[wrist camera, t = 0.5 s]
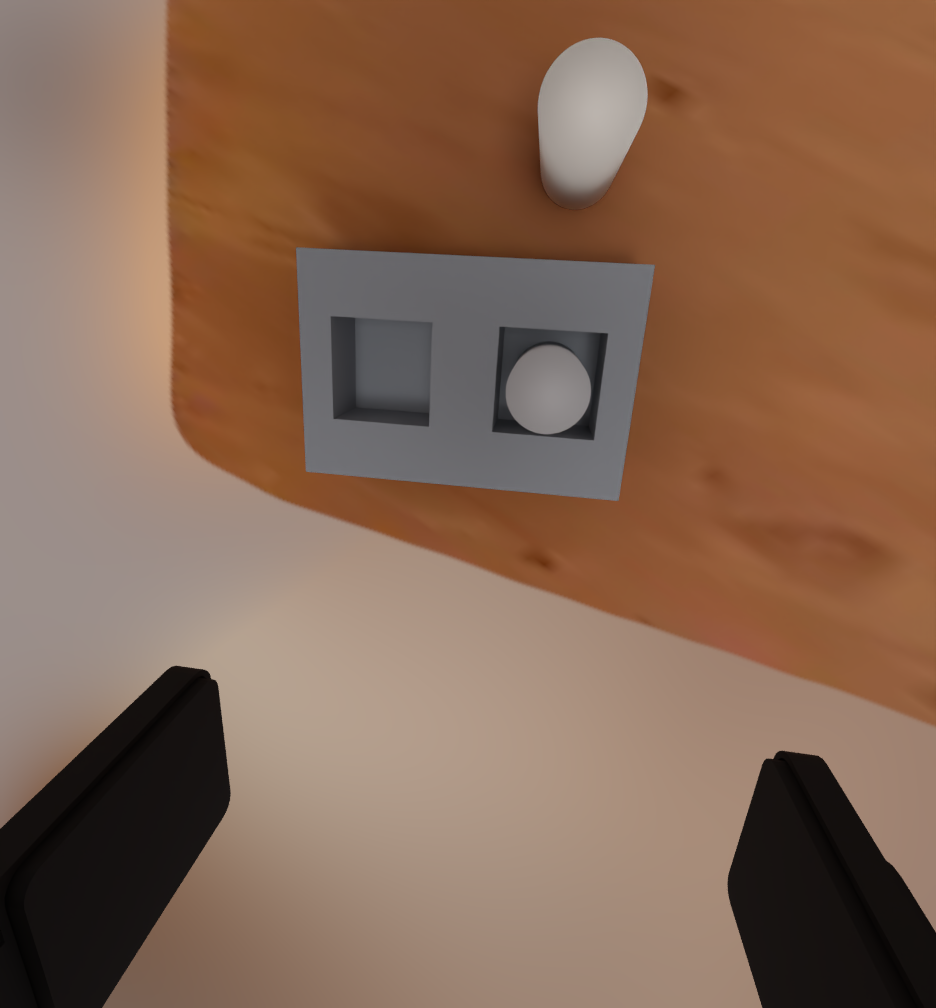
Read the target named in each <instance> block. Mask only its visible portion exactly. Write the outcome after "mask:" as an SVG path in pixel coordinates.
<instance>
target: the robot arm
mask: <svg viewBox="0 0 936 1008" xmlns="http://www.w3.org/2000/svg"><path fill="white" fill-rule="evenodd" d="M229 801H230V784H229V775H228V767H227V759H226V750H225V741H224V733H223V724H222V715H221V707H220V698H219V690H218V684H217V682H216V681H215V680H212V679H211V678H210V674H209V672H208V671H206V670H203V669H195V668H188V667H181V666H173V667H171V668H169V669H168V670H167V671H166V672H164V673H163V674H162V675H161V677H159V678H158V679H157V680H156V681H155V682H154V683H153V684H152V685H151V686H150V687H149V688H148V689H147V690H146V691H145V692H143V694H142V695H140V696H139V697H138V698H137V699H136V700H135V701H134V702H133V703H132V704H131V705H130V706H129V707H128V708H127V709H126V710H125V711H124V712H122V714H120V715H119V716H118V717H117V718H116V719H115V720H114V721H113V722H112V723H111V724H110V725H109V726H108V727H107V728H106V729H105V730H104V731H103V732H102V733H100V734H99V735H98V736H97V737H96V738H95V739H94V740H93V741H92V742H91V743H90V744H89V745H88V746H87V747H86V748H85V749H84V750H83V751H82V752H80V753H79V754H78V755H77V757H75V758H74V759H73V760H72V761H71V762H70V763H69V764H68V765H67V766H66V767H65V768H64V769H63V770H62V771H61V772H60V773H58V774H57V775H56V776H55V777H54V778H53V779H52V780H51V781H50V782H49V783H48V784H47V785H46V786H45V787H44V788H43V789H42V790H41V791H40V792H39V793H38V794H37V795H35V796H34V797H33V798H32V799H31V800H30V801H29V802H28V803H27V804H26V805H25V806H24V807H23V808H22V809H21V810H20V811H19V812H18V813H16V814H15V815H14V816H13V817H12V818H11V819H10V820H9V821H8V822H7V823H6V824H5V825H4V826H3V827H2V828H1V829H0V1008H102V1007H103V1005H104V1004H105V1002H106V1000H107V999H108V997H109V996H110V994H111V993H112V991H113V990H114V988H115V986H116V985H117V983H118V982H119V980H120V979H121V977H122V975H123V974H124V972H125V971H126V969H127V968H128V966H129V964H130V963H131V961H132V960H133V958H134V957H135V955H136V953H137V952H138V950H139V949H140V947H141V946H142V944H143V942H144V941H145V939H146V938H147V936H148V934H149V933H150V931H151V930H152V928H153V927H154V925H155V923H156V922H157V920H158V918H159V917H160V916H161V914H162V912H163V911H164V909H165V908H166V906H167V905H168V903H169V902H170V900H171V898H172V897H173V895H174V894H175V892H176V891H177V889H178V887H179V886H180V884H181V883H182V881H183V879H184V878H185V876H186V875H187V873H188V872H189V870H190V869H191V867H192V865H193V864H194V862H195V861H196V859H197V858H198V856H199V854H200V853H201V851H202V850H203V848H204V847H205V845H206V843H207V842H208V840H209V839H210V837H211V835H212V834H213V832H214V831H215V829H216V828H217V826H218V825H219V823H220V821H221V820H222V818H223V816H224V815H225V813H226V811H227V808H228V805H229ZM728 894H729V899H730V904H731V907H732V910H733V913H734V917H735V920H736V923H737V926H738V930H739V933H740V936H741V940H742V943H743V946H744V949H745V953H746V955H747V958H748V962H749V966H750V969H751V972H752V975H753V979H754V982H755V985H756V988H757V992H758V995H759V998H760V1001H761V1005H762V1008H936V932H935V930H934V929H933V927H932V926H931V924H930V922H929V921H928V919H927V918H926V916H925V914H924V913H923V911H922V910H921V908H920V906H919V905H918V903H917V901H916V900H915V898H914V897H913V895H912V893H911V892H910V890H909V889H908V887H907V885H906V884H905V882H904V881H903V879H902V877H901V876H900V875H899V873H898V872H897V871H896V869H895V868H894V867H893V866H892V865H891V864H890V863H888V862H887V861H886V860H885V858H884V857H883V855H882V854H881V852H880V850H879V849H878V847H877V845H876V844H875V842H874V841H873V839H872V837H871V836H870V834H869V832H868V831H867V829H866V828H865V826H864V824H863V823H862V821H861V819H860V818H859V816H858V814H857V813H856V811H855V810H854V808H853V806H852V805H851V803H850V802H849V800H848V798H847V796H846V795H845V793H844V792H843V790H842V788H841V787H840V785H839V783H838V782H837V780H836V779H835V777H834V775H833V774H832V772H831V770H830V769H829V767H828V765H827V764H826V763H825V761H824V760H823V759H822V758H820V757H819V756H815V755H808V754H801V753H794V752H787V751H779V752H777V753H776V755H775V757H774V759H766V760H765V761H764V762H763V764H762V768H761V771H760V774H759V777H758V781H757V784H756V787H755V791H754V794H753V797H752V800H751V804H750V807H749V810H748V813H747V816H746V820H745V823H744V826H743V829H742V833H741V836H740V839H739V842H738V845H737V849H736V852H735V855H734V858H733V862H732V865H731V868H730V871H729V875H728Z"/></svg>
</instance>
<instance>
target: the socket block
mask: <svg viewBox="0 0 936 1008" xmlns="http://www.w3.org/2000/svg"><path fill="white" fill-rule="evenodd" d="M296 257H297V280H298V302H299V325H300V347H301V370H302V393H303V415H304V438H305V460H306V472H317V473H327V474H338V475H349V476H359V477H370V478H380V479H391V480H402V481H412V482H423V483H434V484H444V485H455V486H466V487H476V488H487V489H497V490H508V491H519V492H529V493H540V494H551V495H561V496H572V497H582V498H593V499H604V500H614V501H618V500H619V494H620V487H621V481H622V474H623V468H624V462H625V455H626V449H627V442H628V436H629V429H630V423H631V416H632V410H633V404H634V397H635V391H636V384H637V378H638V371H639V365H640V358H641V352H642V345H643V339H644V333H645V326H646V320H647V313H648V307H649V300H650V294H651V287H652V281H653V275H654V268H655V265H646V264H626V263H605V262H585V261H564V260H544V259H523V258H502V257H482V256H461V255H441V254H420V253H400V252H379V251H359V250H338V249H317V248H297V247H296Z"/></svg>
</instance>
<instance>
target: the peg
mask: <svg viewBox="0 0 936 1008" xmlns="http://www.w3.org/2000/svg"><path fill="white" fill-rule="evenodd" d="M647 96H648V95H647V83H646V78H645V74H644V71H643V69H642V66H641V64H640V62H639V61H638V59H637V58H636V56H635V55H634V54H633V53H632V52H631V51H630V50H629V49H628V48H627V47H626V46H624V45H622V44H621V43H619V42H617V41H614V40H611V39H607V38H591V39H586V40H583V41H580V42H578V43H576V44H574V45H572V46H570V47H569V48H568V49H566V50H565V51H564V52H563V53H562V54H560V55H559V56H558V57H557V59H556V60H555V61H554V62H553V63H552V65H551V67H550V68H549V70H548V71H547V73H546V75H545V77H544V80H543V83H542V85H541V89H540V93H539V99H538V125H539V147H540V169H541V180H542V184H543V187H544V190H545V192H546V193H547V195H548V196H549V198H550V199H551V200H552V201H553V202H554V203H556V204H557V205H559V206H561V207H563V208H566V209H571V210H579V209H584V208H587V207H589V206H591V205H593V204H595V203H596V202H598V201H599V200H600V199H601V198H602V197H603V196H604V195H605V194H606V192H607V191H608V189H609V188H610V186H611V184H612V182H613V180H614V178H615V176H616V174H617V172H618V170H619V168H620V166H621V164H622V162H623V160H624V158H625V156H626V154H627V152H628V150H629V148H630V146H631V144H632V142H633V140H634V138H635V136H636V134H637V132H638V130H639V128H640V126H641V123H642V121H643V118H644V115H645V111H646V106H647Z"/></svg>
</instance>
